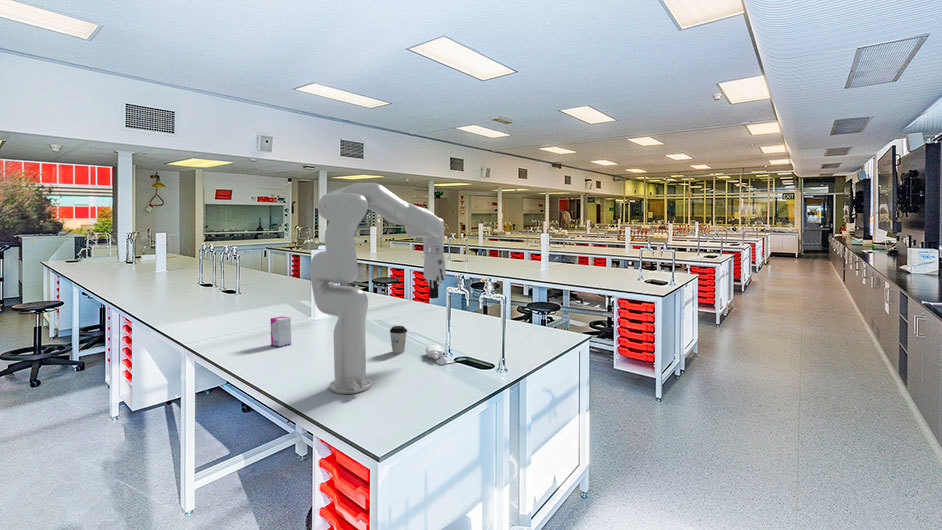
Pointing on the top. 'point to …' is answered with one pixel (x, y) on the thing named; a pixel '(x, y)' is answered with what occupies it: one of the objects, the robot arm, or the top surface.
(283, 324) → the supplement box
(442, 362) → the mat
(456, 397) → the top surface
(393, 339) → the coffee cup
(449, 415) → the top surface
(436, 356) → the eye dropper bottle
